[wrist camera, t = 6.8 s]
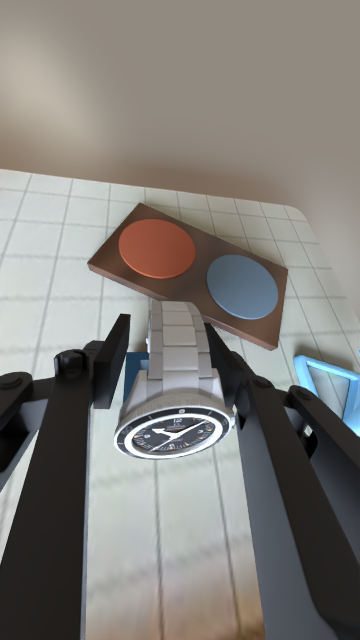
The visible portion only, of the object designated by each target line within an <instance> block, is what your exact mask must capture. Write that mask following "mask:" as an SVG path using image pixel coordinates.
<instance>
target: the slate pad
mask: <svg viewBox="0 0 360 640" xmlns="http://www.w3.org/2000/svg"><path fill="white" fill-rule="evenodd" d="M206 280H207V287H208V290H209V292H210V294H211V296H212V297H213V299H214V300H215V302H216V303H217V304H218V305H219V306H220V307H221V308H223V309H224V310H225V311H227V312H228V313H230V314H232V315H234V316H237V317H239V318H243V319H259V318H262V317H264V316H266V315H268V314H269V313H271V312H272V311H273V309H274V308H275V306H276V304H277V301H278V290H277V286H276V283H275V281H274V279H273V278H272V276H271V275H270V273H269V272H268V271H267V270H266V269H265V268H264V267H263V266H262V265H260V264H259V263H257V262H256V261H254V260H252V259H250V258H248V257H245V256H241V255H225V256H222V257H219V258H218V259H216V260H215V261H214V262H213V263H212V264H211V265H210V267H209V269H208V272H207V277H206Z"/></svg>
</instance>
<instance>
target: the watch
mask: <svg viewBox="0 0 360 640" xmlns="http://www.w3.org/2000/svg"><path fill="white" fill-rule="evenodd" d="M205 331H206V330H205V326H204V323H203V320H202V317H201V314H200V312H199V310H198V309H197V307H195V305H194V304H193V303H191V302H176V301H154V300H153V301H152V309H151V311H150V312H149V327H148V337H146V343H148V352H126V366H125V381H124V396H123V405H122V407H121V409H120V413H119V420H118V426H117V428H116V430H115V436H114V443H115V445H116V447H117V449H118V450H120V451H121V452H123V453H124V454H127V455H129V456H132V457H136V458H141V459H154V460H158V459H171V458H178V457H183V456H187V455H191V454H194V453H197V452H200V451H202V450H205V449H207V448H209V447H211V446H213V445H214V444H216V443H218V442H219V441H220V440H222V439H223V438H224V437H225V436H226V435H227V433H228V432H229V431H230V428H231V426H233V425H234V423H235V415H234V412H233V410H232V408H230V407H229V408H225V403H224V398H223V392H222V387H221V382H220V377H219V374H218V371H217V369H216V368H211V360H210V354H209V345H208V340H207V335H206V332H205Z"/></svg>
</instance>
